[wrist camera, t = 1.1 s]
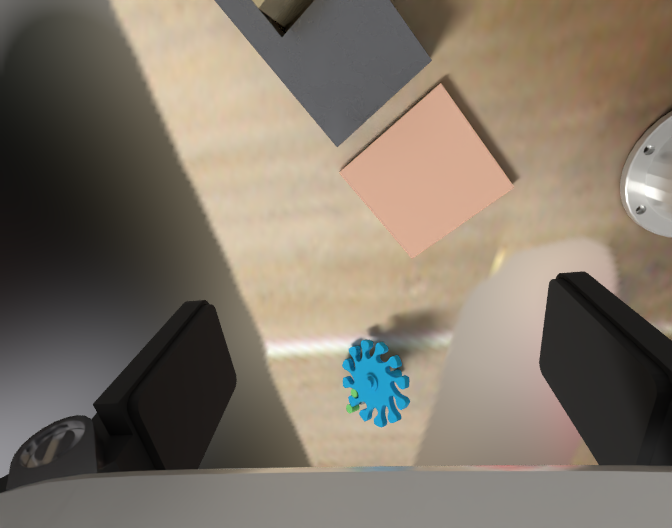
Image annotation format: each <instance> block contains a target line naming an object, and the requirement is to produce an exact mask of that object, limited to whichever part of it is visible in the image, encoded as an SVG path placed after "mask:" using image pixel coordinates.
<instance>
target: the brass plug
mask: <svg viewBox="0 0 672 528" xmlns="http://www.w3.org/2000/svg"><path fill="white" fill-rule="evenodd" d="M252 1H253V2H254V3H255V5H256V6H257V7H258V8H259V9H260V10H262V11H263V12H264V13H266V14H267V15H268V16H270V17H271V18H273V19H274V20H275V21H277V22H278V23H280V24H281V25H282V26H284V27H285V28H286V29H288V30H289V29H290V28H291V27H292V25H293V24H294V23H295V22H296V21H297V20H298V19H299V17H300V16H301V15H302V14H303V13H304V12H305V10H306V9H307V8H308V7H309V6H310V5H311V4H312V2H313V1H314V0H252Z"/></svg>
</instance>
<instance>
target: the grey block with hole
mask: <svg viewBox="0 0 672 528" xmlns="http://www.w3.org/2000/svg"><path fill="white" fill-rule="evenodd" d="M215 1H216V3H217V4H218V5H219V6H220V7H221V9H222V10H223V11H224V12H225V13H226V15H227V16H228V17H229V18H230V19H231V21H232V22H233V23H234V24H235V25H236V27H237V28H238V29H239V30H240V31H241V33H242V34H243V35H244V36H245V37H246V39H247V40H248V41H249V42H250V43H251V45H252V46H253V47H254V48H255V49H256V51H257V52H258V53H259V54H260V55H261V57H262V58H263V59H264V60H265V61H266V63H267V64H268V65H269V66H270V67H271V69H272V70H273V71H274V72H275V73H276V75H277V76H278V77H279V78H280V79H281V81H282V82H283V83H284V84H285V85H286V87H287V88H288V89H289V90H290V91H291V93H292V94H293V95H294V96H295V97H296V99H297V100H298V101H299V102H300V103H301V105H302V106H303V107H304V108H305V109H306V111H307V112H308V113H309V114H310V115H311V117H312V118H313V119H314V120H315V121H316V123H317V124H318V125H319V126H320V127H321V129H322V130H323V131H324V132H325V133H326V135H327V136H328V137H329V138H330V139H331V141H332V142H333V143H334V144H335V145H336V147H338V146H339V145H340V144H341V143H342V142H343V141H345V140H346V139H347V138H348V137H349V136H350V135H351V134H352V133H353V132H354V131H355V130H357V129H358V128H359V127H360V126H361V125H362V124H363V123H364V122H365V121H366V120H367V119H369V118H370V117H371V116H372V115H373V114H374V113H375V112H376V111H377V110H378V109H379V108H381V107H382V106H383V105H384V104H385V103H386V102H387V101H388V100H389V99H390V98H391V97H393V96H394V95H395V94H396V93H397V92H398V91H399V90H400V89H401V88H402V87H403V86H405V85H406V84H407V83H408V82H409V81H410V80H411V79H412V78H413V77H414V76H415V75H417V74H418V73H419V72H420V71H421V70H422V69H423V68H424V67H425V66H426V65H427V64H429V63H430V62H431V61H432V60H431V58H430V57H429V56H428V54H427V53H426V51H425V50H424V48H423V47H422V46H421V44H420V43H419V41H418V40H417V38H416V37H415V36H414V34H413V33H412V31H411V30H410V28H409V27H408V26H407V24H406V23H405V21H404V20H403V18H402V17H401V16H400V14H399V13H398V11H397V10H396V8H395V7H394V6H393V4H392V3H391V1H390V0H314V1H313V2H312V4H311V5H310V6H309V7H308V8H307V9H306V10H305V12H304V13H303V14H302V15H301V16H300V17H299V19H298V20H297V21H296V22H295V23H294V24H293V25H292V27H291V28H290V29H289V30H288V31H287V32H286V33H285V34H284V33H283V31H282V30H281V29H280V28H279V26H278V25H277V24H276V23H275V21H274V20H273V19H272V18H271V17H270V16H268V15H267V14H266V13H264V12H263V11H262V10H260V9H259V8H258V7H257V6H256V5H255V3H254V2H253V1H252V0H215Z"/></svg>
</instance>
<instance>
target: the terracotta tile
mask: <svg viewBox="0 0 672 528" xmlns="http://www.w3.org/2000/svg"><path fill="white" fill-rule="evenodd" d="M339 173H340V175H341V176H342V177H343V178H344V179H345V180H346V182H347V183H348V184H349V185H350V186H351V187H352V189H353V190H354V191H355V192H356V193H357V195H358V196H359V197H360V198H361V199H362V200H363V202H364V203H365V204H366V205H367V206H368V207H369V209H370V210H371V211H372V212H373V213H374V215H375V216H376V217H377V218H378V219H379V220H380V222H381V223H382V224H383V225H384V226H385V227H386V229H387V230H388V231H389V232H390V233H391V234H392V236H393V237H394V238H395V239H396V240H397V242H398V243H399V244H400V245H401V246H402V247H403V249H404V250H405V251H406V252H407V253H408V254H409V256H410V257H411V258H412V259H413V258H414V257H415V256H417V255H418V254H420V253H421V252H423V251H424V250H425V249H427V248H428V247H430V246H431V245H433V244H434V243H435V242H437V241H438V240H440V239H441V238H443V237H444V236H445V235H447V234H448V233H450V232H451V231H453V230H454V229H455V228H457V227H458V226H460V225H461V224H463V223H464V222H465V221H467V220H468V219H470V218H471V217H473V216H474V215H475V214H477V213H478V212H480V211H481V210H483V209H484V208H485V207H487V206H488V205H490V204H491V203H493V202H494V201H496V200H497V199H498V198H500V197H501V196H503V195H504V194H506V193H507V192H508V191H510V190H511V189H513V188H514V186H513V185H512V183H511V182H510V180H509V179H508V178H507V176H506V175H505V173H504V172H503V170H502V169H501V168H500V166H499V165H498V163H497V162H496V161H495V159H494V158H493V156H492V155H491V153H490V152H489V151H488V149H487V148H486V146H485V145H484V144H483V142H482V141H481V139H480V138H479V136H478V135H477V134H476V132H475V131H474V129H473V128H472V127H471V125H470V124H469V122H468V121H467V119H466V118H465V117H464V115H463V114H462V112H461V111H460V110H459V108H458V107H457V105H456V104H455V102H454V101H453V100H452V98H451V97H450V95H449V94H448V93H447V91H446V90H445V88H444V87H443V85H442V84H441V83H439V84H438V85H437V86H436V87H435V88H434V89H433V90H432V91H430V92H429V93H428V94H427V95H426V96H425V97H424V98H422V99H421V100H420V101H419V102H418V103H417V104H416V105H415V106H413V107H412V108H411V109H410V110H409V111H408V112H407V113H405V114H404V115H403V116H402V117H401V118H400V119H399V120H398V121H396V122H395V123H394V124H393V125H392V126H391V127H390V128H388V129H387V130H386V131H385V132H384V133H383V134H382V135H381V136H379V137H378V138H377V139H376V140H375V141H374V142H373V143H371V144H370V145H369V146H368V147H367V148H366V149H365V150H364V151H362V152H361V153H360V154H359V155H358V156H357V157H356V158H354V159H353V160H352V161H351V162H350V163H349V164H348V165H347V166H345V167H344V168H343V169H342V170H341V171H340V172H339Z"/></svg>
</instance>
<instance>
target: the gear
mask: <svg viewBox="0 0 672 528" xmlns="http://www.w3.org/2000/svg"><path fill="white" fill-rule="evenodd" d="M361 347H362V360H361V358H360V353H361V348H360V346H354V347H351V348H350V349H349V353H350V355H351V356H352V357H353V359H354V362H355V367H354V362H353V360H352V359H351V358H349V359H346V360H345V361H344V362H343V365H342V366H343V368H344V369H345V370H347V371H349V372H350V373H351V375H352V376H353V378H354V380H353V379H352V377H351V376H347V377H344V378H343V386H344V387H345V388H348V387H350V388H353V389H352V390H351V396H349V397H348V398H349V402H350V404H349V405H347V407H346V409H347V411H348V413H352V412H355V411H357V410H359V404H361V405H362V404H364V403H366V405H367V408H366V409H363V410H361V411H360V413H359V414H360V416H361V418H362V419H363V420H364V421H367V420H369V419H371V418H372V412H373V409H374V408H376V409H377V410H378V415H377V416H376V417H375V418H374V424H375V425H377V426H379V427H384V426H386V425H387V419H386V416H385V409H386V406H387V407H388V410H389V413H388V420H389V422H390V423H394V422H396V421H398V420H400V419H401V414H400V413H399V412H398V410H397V409H396V407H395V404H394V400H393V396H394V397H395V399H396V404H397V407H398V408H399V409H400V410H402V409H404V408H406V407H407V406H408V405H409V403H410V400H409V398H408V397H406V396H404V395H402V394H401V393H400V392H399V391H398V389H397V388H396V386H395V384H394V381H395V382H396V384H397V385H398V387H399V388H401V389H405V388H408V387H409V377H408V376H406V375H404V376H402V372H401V371H400V370H399V369H397V370H394V371H390V367H392V368H398V367H400V366H402V362H401V359H400V357H399V355H395V356H392V357H390V358H389V360H388V361H387V362H383V361H382V360H381V358H380V355H381V354H383V353H387V352H388V349H389V348H388V346H387V345H386V344H385V343H383V342H380V343H377V344H376V346H375V352H374V355H373V356H372V357H371V356H370V354H369V352H370V350H371V349H372V347H373V341H371V340H362V341H361ZM355 368H356V369H355Z"/></svg>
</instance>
